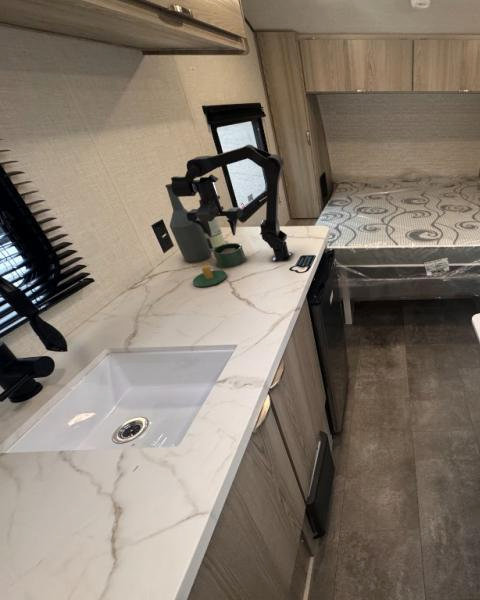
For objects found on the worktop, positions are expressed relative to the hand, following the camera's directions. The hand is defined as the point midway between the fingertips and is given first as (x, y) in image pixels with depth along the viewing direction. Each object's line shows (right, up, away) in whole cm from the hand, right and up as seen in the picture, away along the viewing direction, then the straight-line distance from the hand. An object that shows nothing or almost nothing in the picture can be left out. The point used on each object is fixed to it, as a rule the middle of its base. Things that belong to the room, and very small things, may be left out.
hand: (222, 235), depth 126 cm
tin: (+1, -9, +6) cm, 11 cm away
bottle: (-16, -7, +10) cm, 20 cm away
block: (+1, -9, +6) cm, 11 cm away
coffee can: (-15, -1, +20) cm, 25 cm away
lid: (-1, -17, -7) cm, 18 cm away
